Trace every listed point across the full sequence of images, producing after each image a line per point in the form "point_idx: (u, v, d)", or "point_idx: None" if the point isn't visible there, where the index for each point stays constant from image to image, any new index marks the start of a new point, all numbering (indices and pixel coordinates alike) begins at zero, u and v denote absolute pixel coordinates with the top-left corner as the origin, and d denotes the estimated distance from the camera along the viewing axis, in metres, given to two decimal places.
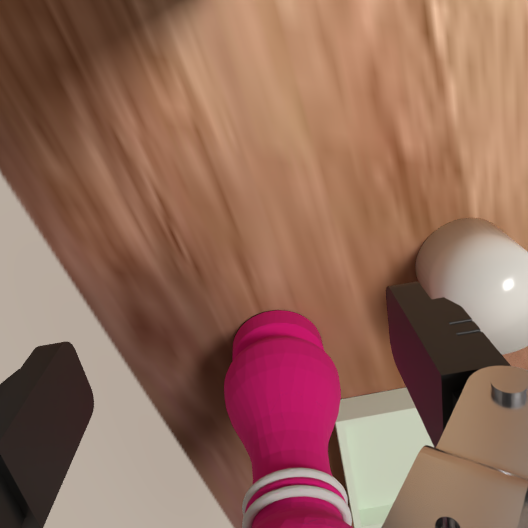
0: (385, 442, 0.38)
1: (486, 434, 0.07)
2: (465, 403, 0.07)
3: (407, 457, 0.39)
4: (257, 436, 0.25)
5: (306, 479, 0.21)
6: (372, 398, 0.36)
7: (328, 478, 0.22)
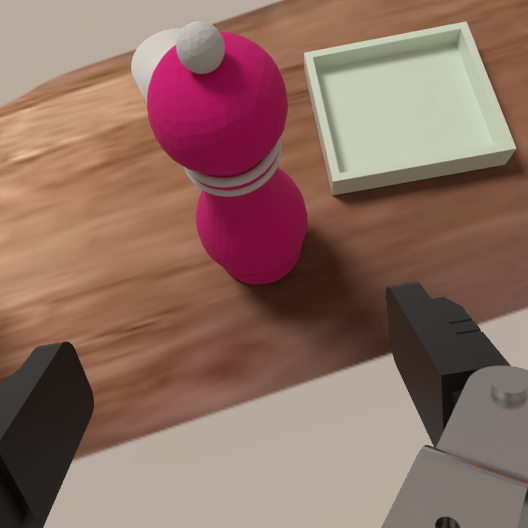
0: (384, 139, 0.37)
1: (486, 434, 0.07)
2: (465, 403, 0.07)
3: (407, 117, 0.37)
4: (213, 208, 0.26)
5: None
6: (324, 157, 0.37)
7: None
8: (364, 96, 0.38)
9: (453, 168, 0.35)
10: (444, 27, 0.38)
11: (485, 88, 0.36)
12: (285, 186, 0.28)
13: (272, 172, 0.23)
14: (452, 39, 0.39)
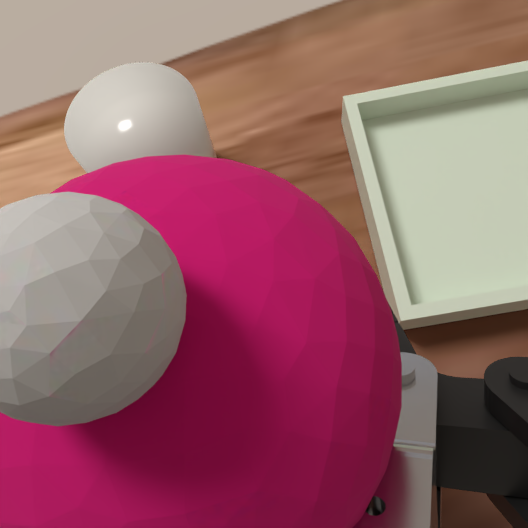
0: (476, 238, 0.23)
1: None
2: None
3: (510, 200, 0.23)
4: None
5: None
6: (379, 266, 0.23)
7: None
8: (438, 164, 0.24)
9: None
10: None
11: None
12: None
13: None
14: None
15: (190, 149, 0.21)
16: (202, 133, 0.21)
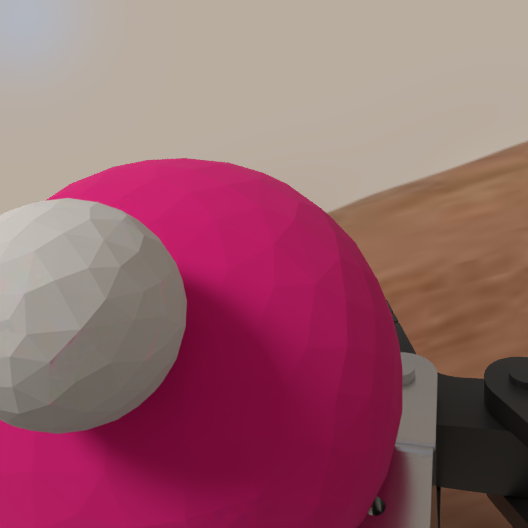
0: None
1: None
2: None
3: None
4: None
5: None
6: None
7: None
8: None
9: None
10: None
11: None
12: None
13: None
14: None
15: None
16: None
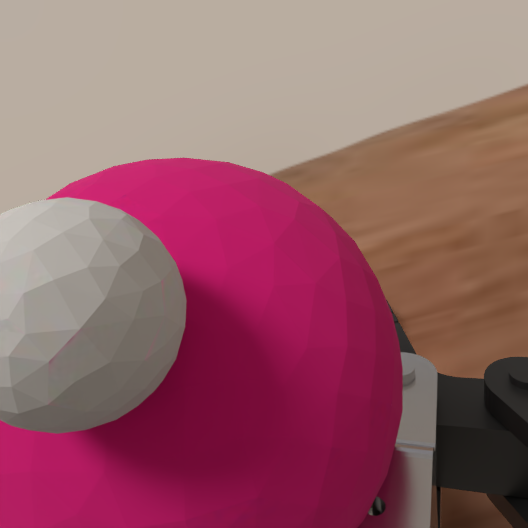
0: None
1: None
2: None
3: None
4: None
5: None
6: None
7: None
8: None
9: None
10: None
11: None
12: None
13: None
14: None
15: None
16: None
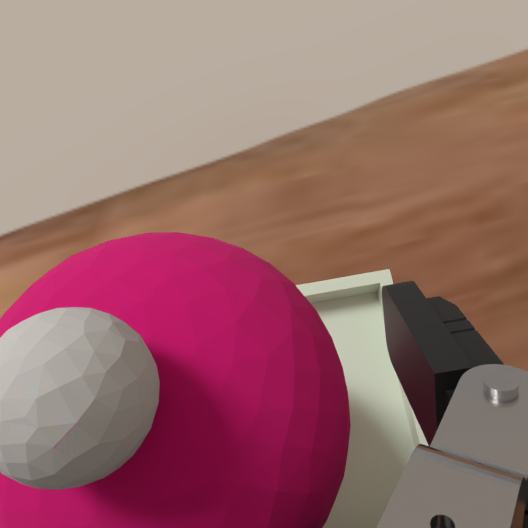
0: None
1: (477, 432, 0.07)
2: (457, 401, 0.07)
3: None
4: None
5: None
6: None
7: None
8: None
9: None
10: (353, 278, 0.23)
11: None
12: None
13: None
14: (369, 290, 0.24)
15: None
16: None
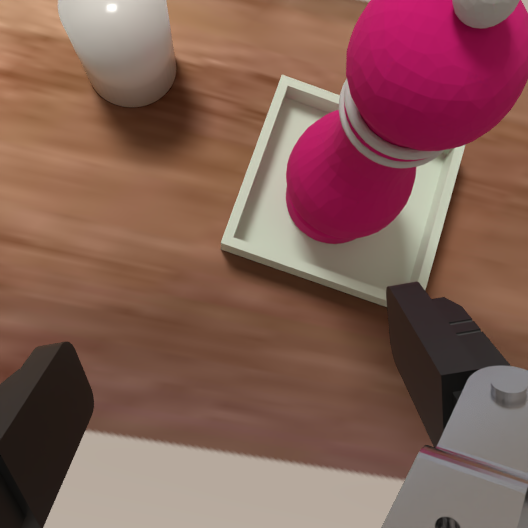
0: None
1: (486, 434, 0.07)
2: (465, 403, 0.07)
3: None
4: (333, 153, 0.22)
5: None
6: None
7: None
8: None
9: (352, 292, 0.31)
10: None
11: (434, 228, 0.31)
12: (412, 169, 0.24)
13: (430, 160, 0.19)
14: None
15: (133, 55, 0.27)
16: (152, 50, 0.28)
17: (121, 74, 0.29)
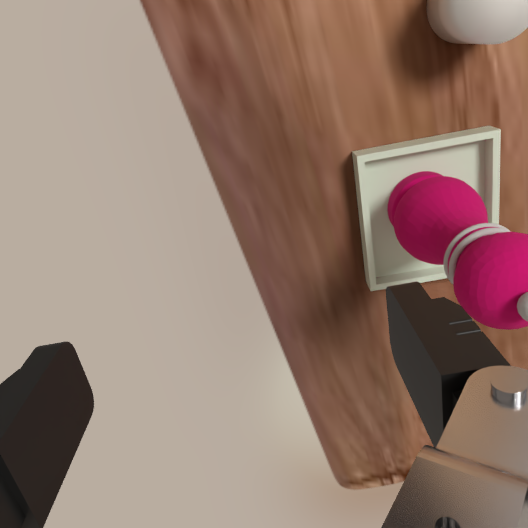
0: None
1: (486, 434, 0.07)
2: (465, 403, 0.07)
3: None
4: (443, 223, 0.35)
5: (497, 227, 0.31)
6: (388, 145, 0.42)
7: None
8: None
9: (363, 247, 0.45)
10: None
11: (427, 276, 0.45)
12: None
13: None
14: None
15: (463, 33, 0.34)
16: (473, 42, 0.34)
17: (447, 21, 0.35)
